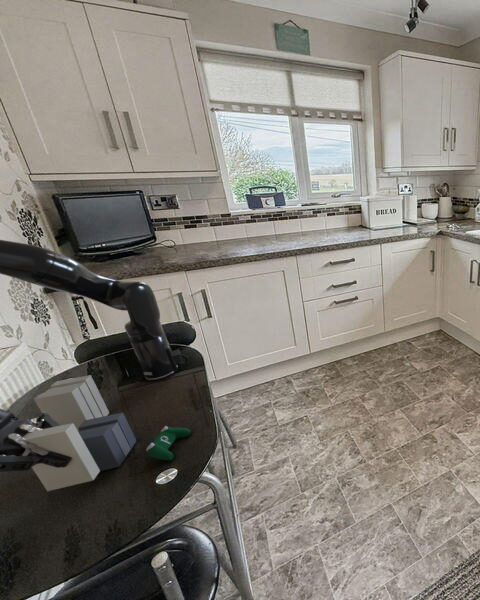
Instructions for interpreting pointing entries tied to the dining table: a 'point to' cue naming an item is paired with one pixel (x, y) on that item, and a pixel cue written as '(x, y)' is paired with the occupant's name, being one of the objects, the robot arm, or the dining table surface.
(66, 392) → the white books
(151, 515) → the dining table surface
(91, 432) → the grey books
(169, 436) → the gaming controller
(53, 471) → the white book
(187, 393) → the dining table surface
